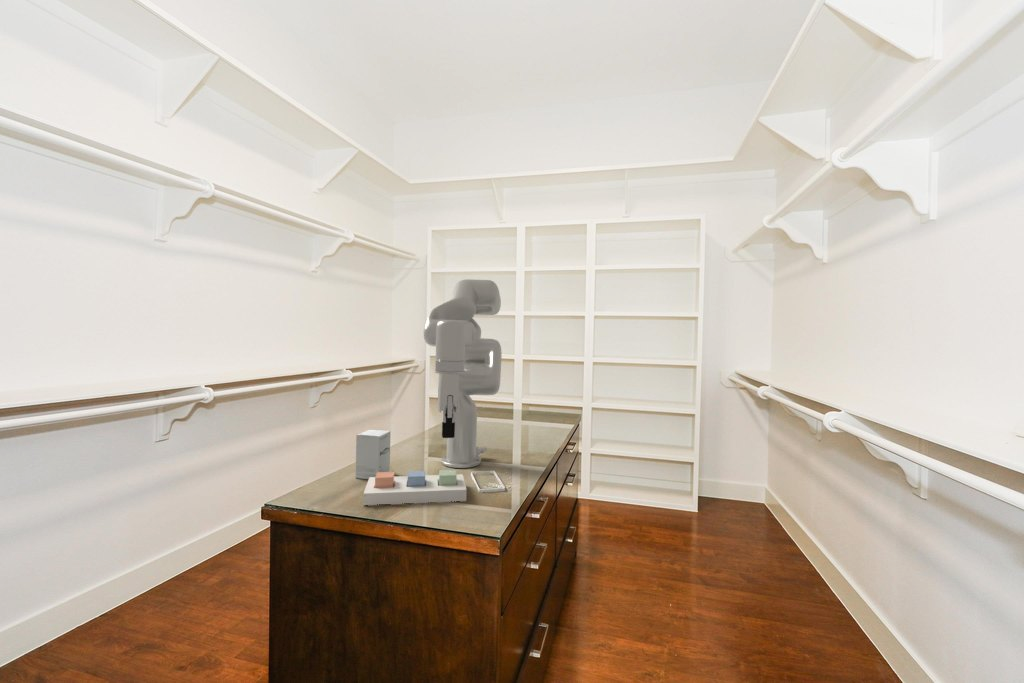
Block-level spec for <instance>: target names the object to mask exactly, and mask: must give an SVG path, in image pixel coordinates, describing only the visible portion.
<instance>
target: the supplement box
mask: <svg viewBox="0 0 1024 683" xmlns="http://www.w3.org/2000/svg"><path fill="white" fill-rule="evenodd" d="M355 444H356V445H355V478H356V479H364V480H369V477H376V474H377V472H391V470H390V468H391V465H390V464H391V430H383V429H382V430H381V429H379V430H378V429H367V430H365V431H363V432H360V433H359V434H356V441H355Z"/></svg>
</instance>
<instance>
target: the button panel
mask: <svg viewBox="0 0 1024 683" xmlns="http://www.w3.org/2000/svg"><path fill="white" fill-rule="evenodd" d="M456 475H457V479H456V485H445V486H439V474H433V475H432V474H429V475H428V474H427V475H426V474H425V486H418V487H408V475H400V476H395V475H394V487H391V488H375V477H369V479H367V482H366V485H365V487H364V491H363V500H362V501H363V503H362V504H363V505H368V506H380V505H379V504H391V505H405V504H404V503H414V504H431V503H430V502H437V503H451V501H452V503H456V501H460V502H467V486H466V483H465V478H464V474H462V473H461V474H460V473H459V474H457V473H456ZM454 501H455V502H454ZM428 502H429V503H428ZM402 503H403V504H402ZM377 504H378V505H377Z"/></svg>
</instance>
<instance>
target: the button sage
mask: <svg viewBox="0 0 1024 683" xmlns="http://www.w3.org/2000/svg"><path fill="white" fill-rule="evenodd" d="M456 474H457V471H456V469H441V470H440V469H439V470H438V475H439V486H445V485H456V479H457V475H456Z"/></svg>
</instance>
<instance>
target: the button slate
mask: <svg viewBox="0 0 1024 683" xmlns="http://www.w3.org/2000/svg"><path fill="white" fill-rule="evenodd" d="M425 475H426V470H408V471H407V476H408V487H418V486H425Z"/></svg>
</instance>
